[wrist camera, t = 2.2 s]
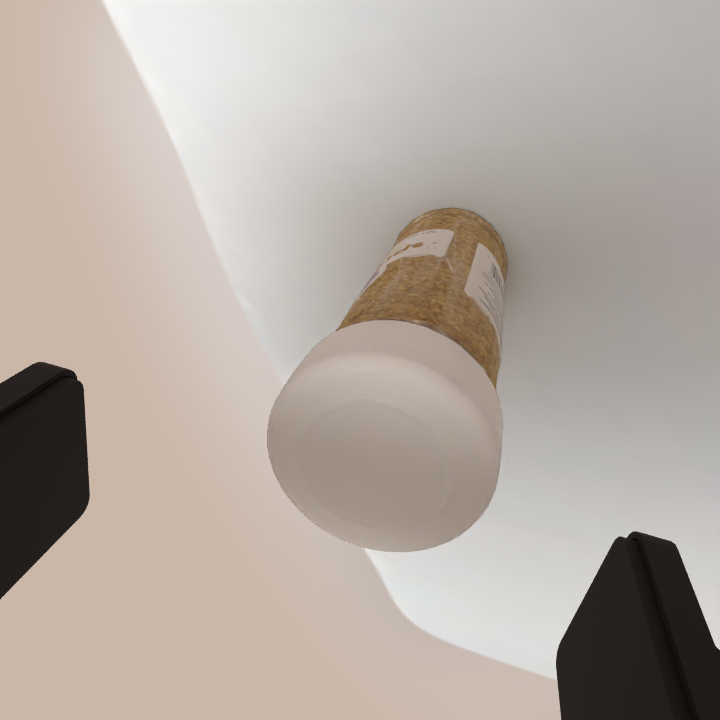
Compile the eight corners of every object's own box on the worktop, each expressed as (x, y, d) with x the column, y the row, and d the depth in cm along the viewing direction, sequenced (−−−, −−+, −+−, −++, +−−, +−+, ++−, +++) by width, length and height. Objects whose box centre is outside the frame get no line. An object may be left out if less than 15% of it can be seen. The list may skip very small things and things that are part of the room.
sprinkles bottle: (405, 193, 21) (272, 328, 10) (525, 222, 21) (535, 402, 9) (381, 303, 24) (249, 521, 12) (489, 332, 23) (461, 591, 11)
